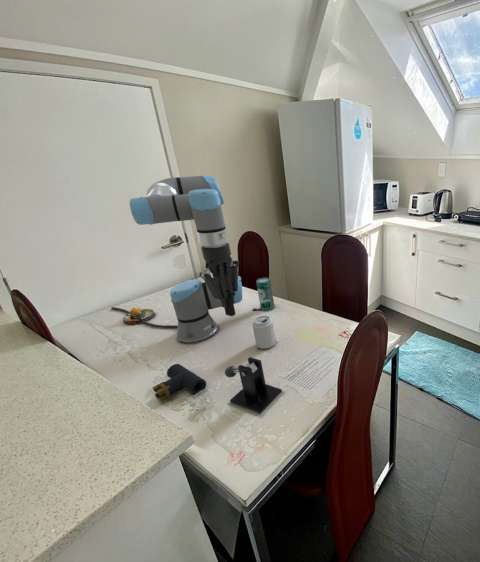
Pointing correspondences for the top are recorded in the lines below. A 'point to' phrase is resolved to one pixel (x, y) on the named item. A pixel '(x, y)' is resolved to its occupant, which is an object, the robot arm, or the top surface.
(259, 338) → the can
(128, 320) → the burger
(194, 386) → the pipe connector
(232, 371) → the tap lever
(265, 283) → the can
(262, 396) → the bracket
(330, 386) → the top surface
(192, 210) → the robot arm
